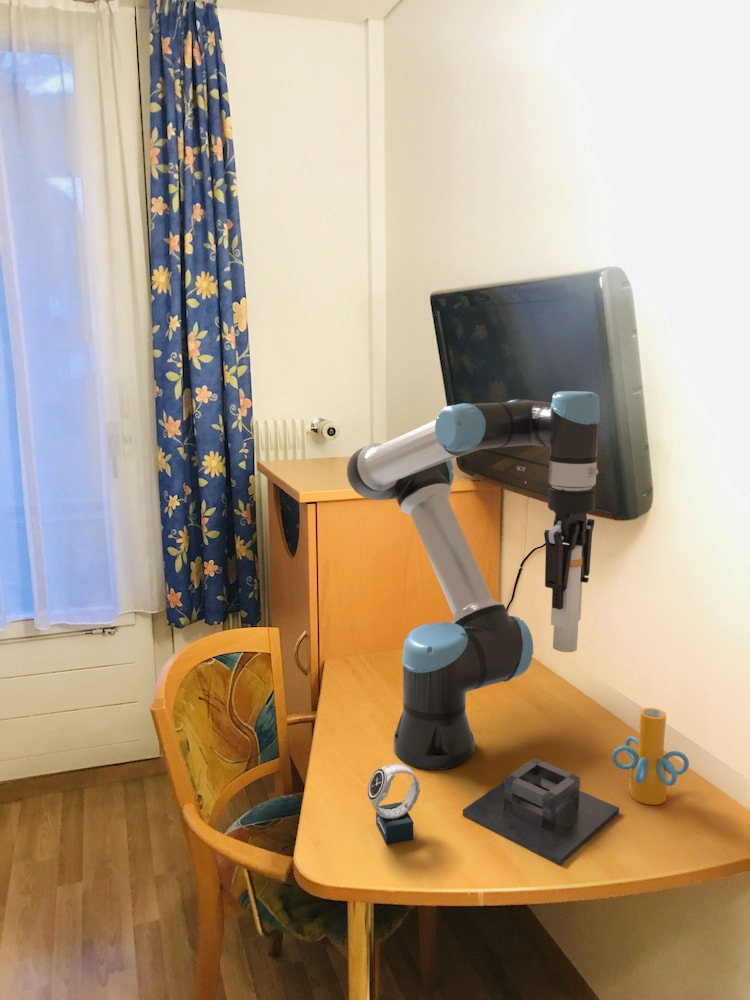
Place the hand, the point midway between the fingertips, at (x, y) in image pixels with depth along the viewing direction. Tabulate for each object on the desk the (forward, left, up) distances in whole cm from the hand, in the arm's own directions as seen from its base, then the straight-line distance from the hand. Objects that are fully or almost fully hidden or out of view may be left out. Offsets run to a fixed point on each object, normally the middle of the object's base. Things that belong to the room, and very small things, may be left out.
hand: (565, 621), depth 131 cm
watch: (-10, -32, -29) cm, 44 cm away
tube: (0, 0, -5) cm, 5 cm away
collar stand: (+4, -12, -29) cm, 31 cm away
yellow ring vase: (+14, +5, -29) cm, 32 cm away
